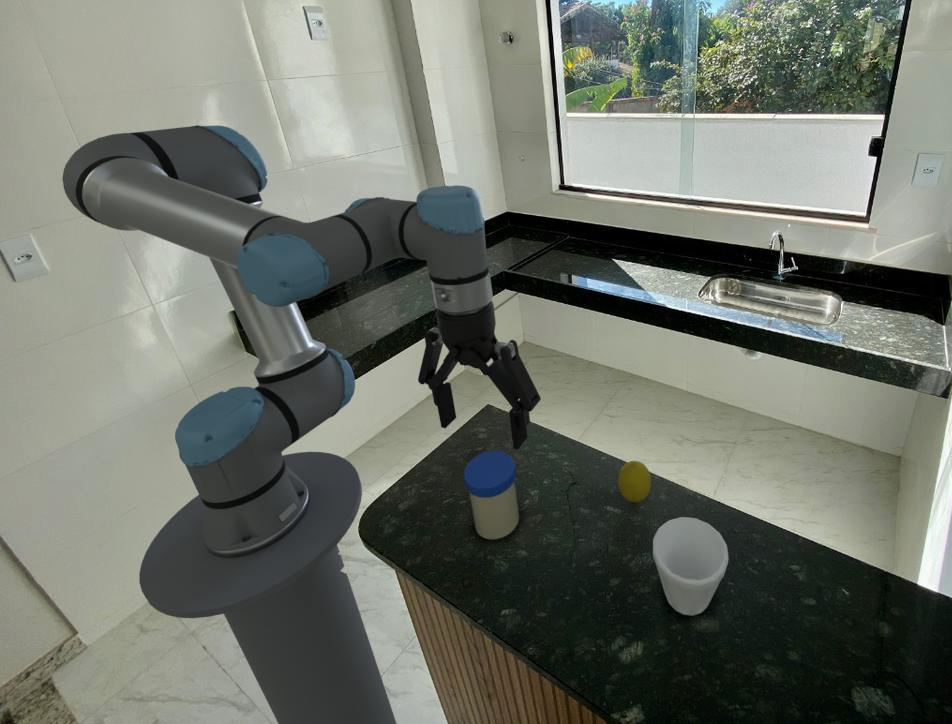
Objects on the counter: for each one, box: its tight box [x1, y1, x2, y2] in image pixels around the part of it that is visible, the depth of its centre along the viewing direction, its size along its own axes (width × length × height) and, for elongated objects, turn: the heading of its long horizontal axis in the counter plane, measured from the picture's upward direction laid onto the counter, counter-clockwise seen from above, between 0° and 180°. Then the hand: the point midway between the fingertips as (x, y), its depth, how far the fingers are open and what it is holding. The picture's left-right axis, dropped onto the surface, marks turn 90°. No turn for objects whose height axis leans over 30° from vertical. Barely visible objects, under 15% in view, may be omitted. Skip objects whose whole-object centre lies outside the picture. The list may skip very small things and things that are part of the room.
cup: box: [652, 516, 729, 617], centre depth 66 cm, size 10×10×9 cm
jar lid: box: [463, 450, 517, 498], centre depth 76 cm, size 8×8×2 cm
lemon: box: [617, 460, 652, 503], centre depth 82 cm, size 6×6×8 cm
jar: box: [468, 479, 520, 540], centre depth 78 cm, size 7×7×11 cm
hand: (483, 432), depth 73 cm, fingers open, 12 cm apart
